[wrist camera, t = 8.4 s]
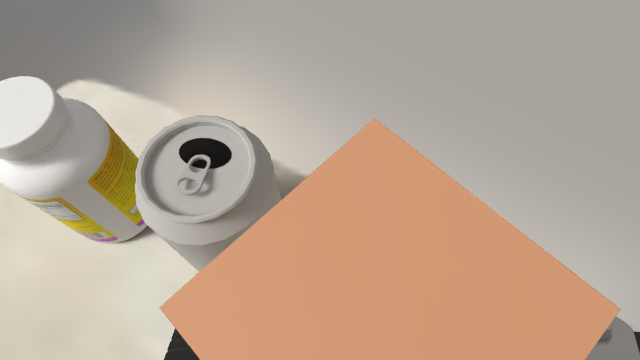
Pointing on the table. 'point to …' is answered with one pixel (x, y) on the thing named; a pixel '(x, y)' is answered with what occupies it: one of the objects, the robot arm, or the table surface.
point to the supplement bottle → (67, 161)
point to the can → (204, 185)
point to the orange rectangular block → (386, 274)
